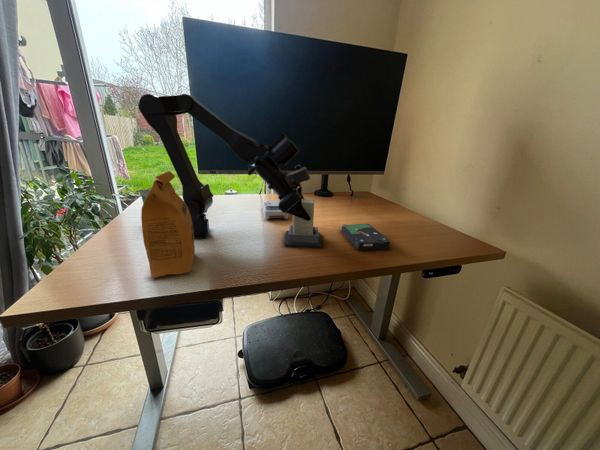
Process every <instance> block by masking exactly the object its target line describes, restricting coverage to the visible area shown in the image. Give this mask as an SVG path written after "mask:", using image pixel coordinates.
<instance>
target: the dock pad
mask: <svg viewBox="0 0 600 450" xmlns="http://www.w3.org/2000/svg"><path fill="white" fill-rule="evenodd" d="M284 247H291V248H292V247H293V248H294V247H295V248H311V249H312V248H315V249H322V248H323V245H322V238H321V233H320V232H319V227H318V226H313V235H312V234H293V225H289V227H288V230H286V232H285V240H284Z"/></svg>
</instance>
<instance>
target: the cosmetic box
mask: <svg viewBox="0 0 600 450" xmlns="http://www.w3.org/2000/svg"><path fill="white" fill-rule="evenodd" d="M302 205H303V207H304V208H305V210H306V211H307V213H308V214H309V216H310V217H311V220H309V221H307V220H304V219H302V218H299V217H297V216H294V215H292V226H293V234H312V235H313V227H314V219H315V218H314V217H315V198H304V199H302Z"/></svg>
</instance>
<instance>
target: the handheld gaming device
mask: <svg viewBox="0 0 600 450" xmlns="http://www.w3.org/2000/svg"><path fill="white" fill-rule="evenodd" d="M279 201H280V200H266V201H264V202H263V203H262V211H263V217H264V219H265V220H269V219H279V218H280V219H281V218H282V219H283V218H284V219H286V220H287V219H289V214H288V213H287V214H286V213H283V212H282V211H281V210H280V209H279Z"/></svg>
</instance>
